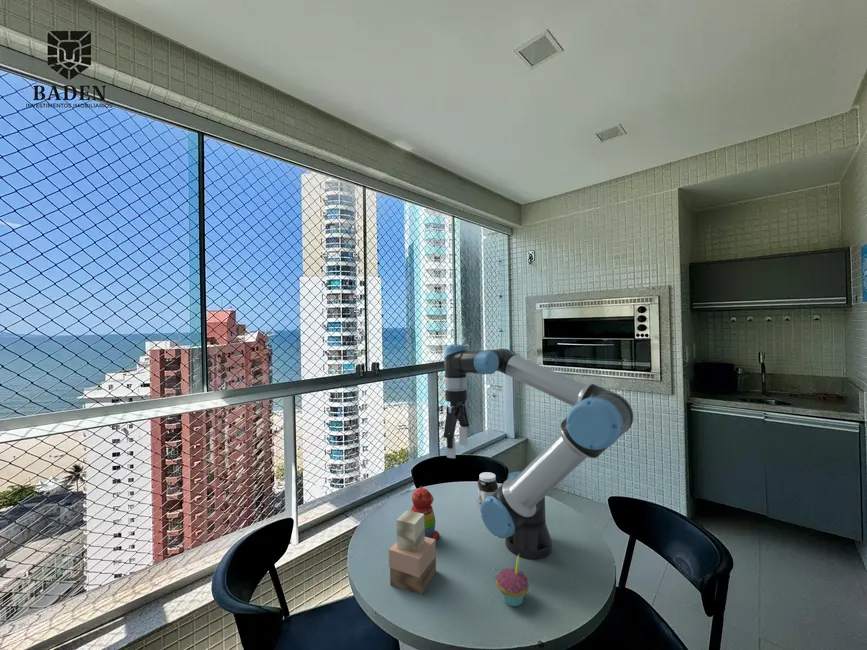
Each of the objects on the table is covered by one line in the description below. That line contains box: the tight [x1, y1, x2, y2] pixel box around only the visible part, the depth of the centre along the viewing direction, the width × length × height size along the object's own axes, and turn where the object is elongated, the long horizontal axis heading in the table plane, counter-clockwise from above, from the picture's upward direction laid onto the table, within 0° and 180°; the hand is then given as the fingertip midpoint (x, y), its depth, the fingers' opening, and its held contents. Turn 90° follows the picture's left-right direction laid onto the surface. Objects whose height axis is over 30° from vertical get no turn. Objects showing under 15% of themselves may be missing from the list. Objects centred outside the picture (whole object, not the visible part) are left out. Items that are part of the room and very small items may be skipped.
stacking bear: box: [409, 485, 440, 541], centre depth 119 cm, size 11×10×18 cm
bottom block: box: [389, 556, 437, 595], centre depth 100 cm, size 10×10×5 cm
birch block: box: [396, 510, 425, 553], centre depth 101 cm, size 6×6×8 cm
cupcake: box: [495, 555, 530, 607], centre depth 91 cm, size 9×8×12 cm
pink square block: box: [388, 537, 437, 577], centre depth 101 cm, size 10×10×5 cm
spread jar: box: [477, 471, 499, 505], centre depth 144 cm, size 12×11×12 cm
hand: (457, 451), depth 119 cm, fingers open, 13 cm apart
